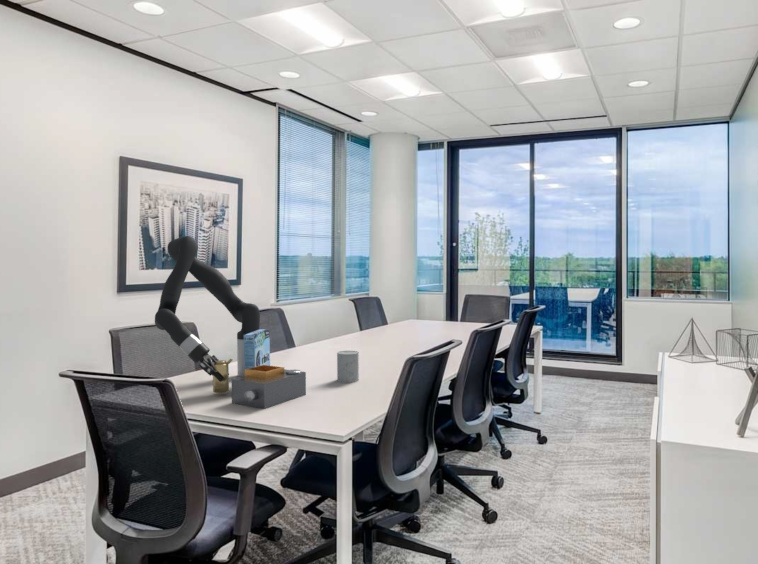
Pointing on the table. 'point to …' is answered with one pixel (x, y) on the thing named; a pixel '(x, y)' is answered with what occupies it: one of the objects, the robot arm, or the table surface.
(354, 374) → the grey stone cylinder
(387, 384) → the table surface
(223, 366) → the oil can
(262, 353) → the gum box
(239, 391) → the grey box with knob
